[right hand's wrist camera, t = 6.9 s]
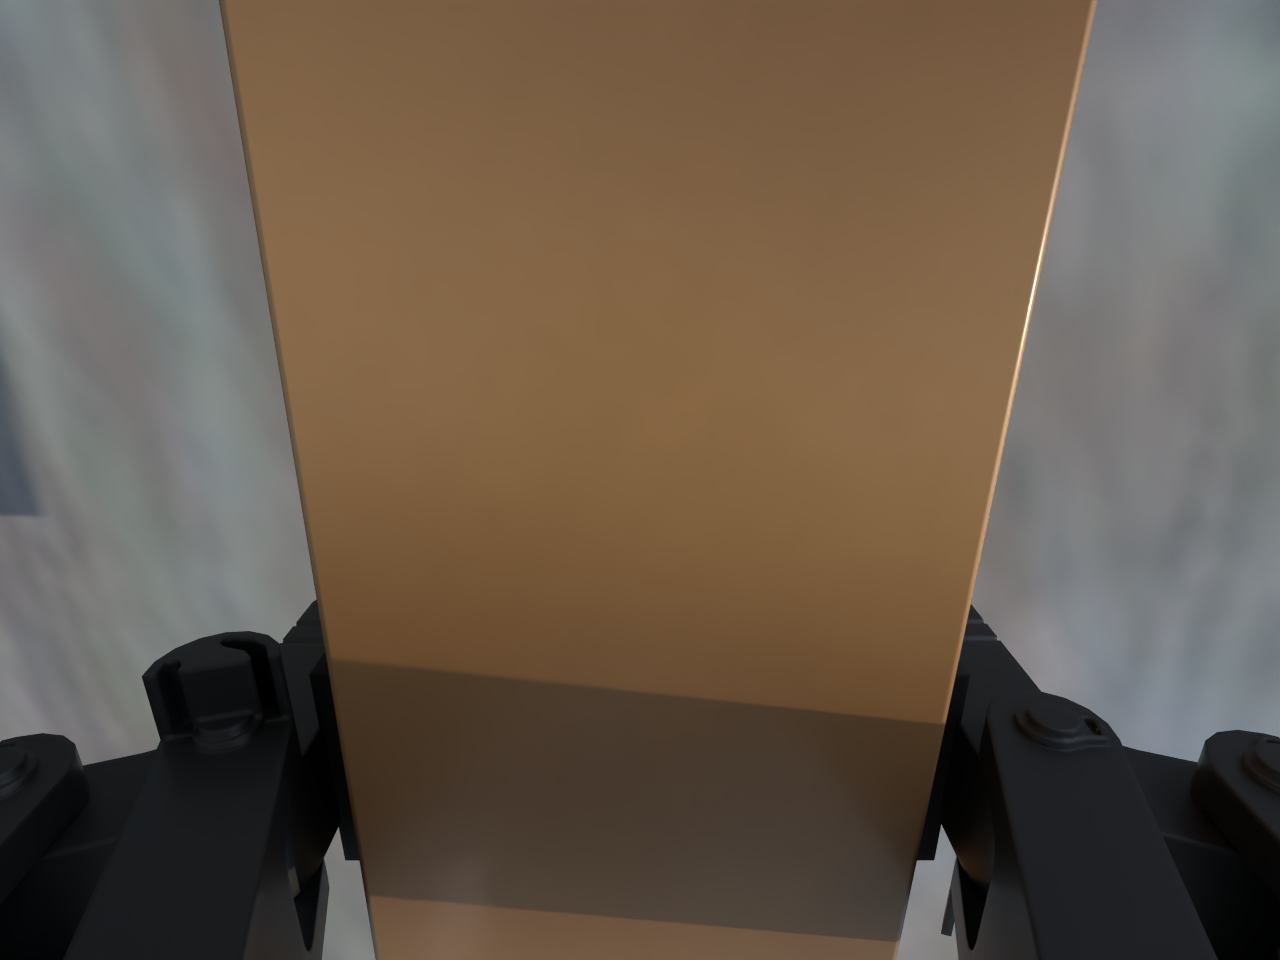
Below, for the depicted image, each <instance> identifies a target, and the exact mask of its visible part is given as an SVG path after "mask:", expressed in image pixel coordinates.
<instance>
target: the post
mask: <svg viewBox="0 0 1280 960" xmlns="http://www.w3.org/2000/svg"><path fill="white" fill-rule="evenodd" d="M219 4H220V10H221V16H222V23H223V29H224V35H225V41H226V47H227V53H228V59H229V65H230V71H231V78H232V84H233V90H234V96H235V102H236V108H237V114H238V120H239V126H240V133H241V139H242V145H243V151H244V157H245V163H246V169H247V175H248V181H249V188H250V194H251V200H252V206H253V212H254V218H255V224H256V230H257V236H258V243H259V249H260V255H261V261H262V267H263V273H264V279H265V285H266V291H267V298H268V304H269V310H270V316H271V322H272V328H273V334H274V340H275V347H276V353H277V359H278V365H279V371H280V377H281V383H282V389H283V395H284V402H285V408H286V414H287V420H288V426H289V432H290V438H291V444H292V450H293V457H294V463H295V469H296V475H297V481H298V487H299V493H300V499H301V505H302V512H303V518H304V524H305V530H306V536H307V542H308V548H309V554H310V560H311V567H312V573H313V579H314V585H315V591H316V597H317V603H318V609H319V615H320V622H321V628H322V634H323V640H324V646H325V652H326V658H327V664H328V670H329V677H330V683H331V689H332V695H333V701H334V707H335V713H336V719H337V726H338V732H339V738H340V744H341V750H342V756H343V762H344V768H345V774H346V781H347V787H348V793H349V799H350V805H351V811H352V817H353V823H354V829H355V836H356V842H357V848H358V854H359V860H360V866H361V872H362V878H363V884H364V891H365V897H366V903H367V909H368V915H369V921H370V927H371V933H372V939H373V946H374V952H375V958H376V960H896V957H897V952H898V947H899V943H900V938H901V933H902V928H903V924H904V919H905V914H906V909H907V904H908V900H909V895H910V890H911V885H912V881H913V876H914V871H915V866H916V862H917V857H918V852H919V847H920V843H921V838H922V833H923V828H924V824H925V819H926V814H927V809H928V805H929V800H930V795H931V790H932V785H933V781H934V776H935V771H936V766H937V762H938V757H939V752H940V747H941V743H942V738H943V733H944V728H945V724H946V719H947V714H948V709H949V705H950V700H951V695H952V690H953V686H954V681H955V676H956V671H957V666H958V662H959V657H960V652H961V647H962V643H963V638H964V633H965V628H966V624H967V619H968V614H969V609H970V605H971V600H972V595H973V590H974V586H975V581H976V576H977V571H978V567H979V562H980V557H981V552H982V548H983V543H984V538H985V533H986V528H987V524H988V519H989V514H990V509H991V505H992V500H993V495H994V490H995V486H996V481H997V476H998V471H999V467H1000V462H1001V457H1002V452H1003V448H1004V443H1005V438H1006V433H1007V429H1008V424H1009V419H1010V414H1011V409H1012V405H1013V400H1014V395H1015V390H1016V386H1017V381H1018V376H1019V371H1020V367H1021V362H1022V357H1023V352H1024V348H1025V343H1026V338H1027V333H1028V329H1029V324H1030V319H1031V314H1032V310H1033V305H1034V300H1035V295H1036V291H1037V286H1038V281H1039V276H1040V271H1041V267H1042V262H1043V257H1044V252H1045V248H1046V243H1047V238H1048V233H1049V229H1050V224H1051V219H1052V214H1053V210H1054V205H1055V200H1056V195H1057V191H1058V186H1059V181H1060V176H1061V172H1062V167H1063V162H1064V157H1065V152H1066V148H1067V143H1068V138H1069V133H1070V129H1071V124H1072V119H1073V114H1074V110H1075V105H1076V100H1077V95H1078V91H1079V86H1080V81H1081V76H1082V72H1083V67H1084V62H1085V57H1086V53H1087V48H1088V43H1089V38H1090V34H1091V29H1092V24H1093V19H1094V14H1095V10H1096V5H1097V0H219Z"/></svg>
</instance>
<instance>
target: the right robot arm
mask: <svg viewBox="0 0 1280 960" xmlns="http://www.w3.org/2000/svg"><path fill="white" fill-rule="evenodd" d="M142 679H143V682H144V686H145V689H146V692H147V696H148V699H149V702H150V706H151V709H152V713H153V716H154V719H155V723H156V726H157V730H158V733H159V736H160V740H161V741H160V743H159V745H158V747H157V749H156V750H152V751H149V752H145V753H141V754H136V755H131V756H127V757H122V758H117V759H112V760H108V761H103V762H98V763H93V764H89V765H84V766H83V765H82V763H81V760H80V757H79V754H78V751H77V748H76V745H75V744H74V743H73V742H71V741H70V740H69V739H67V738H66V737H65V736H62V735H54V734H45V733H41V734H34V735H27V736H20V737H14V738H10V739H6V740H2V741H1V742H0V960H322V951H323V942H324V932H325V923H326V914H327V905H328V895H329V883H328V876H327V871H326V866H325V861H324V856H325V854H326V852H327V850H328V848H329V846H330V844H331V841H332V839H333V837H334V835H335V833H336V831H337V829H338V827H339V830H340V835H341V840H342V845H343V850H344V855H345V860H359V854H358V848H357V842H356V836H355V829H354V823H353V817H352V811H351V805H350V799H349V793H348V787H347V781H346V774H345V768H344V762H343V756H342V750H341V744H340V738H339V732H338V726H337V719H336V713H335V707H334V701H333V695H332V689H331V683H330V677H329V670H328V664H327V658H326V652H325V646H324V640H323V634H322V628H321V622H320V615H319V609H318V603H317V600H315V601H314V602H312V604H311V605H310V606H309V607H308V609H307V610H306V611H305V612H304V614H303V615H302V616H301V617H300V619H299V620H298V621H297V625H296V626H293V627H292V629H291V630H290V631H289V632H288V634H287V635H286V636H285V637H284V639H283V643H280V644H279V643H278V642H277V641H275V640H274V639H273V638H271V637H270V636H269V635H266V634H261V633H256V632H251V631H244V632H226V633H221V634H217V635H213V636H208V637H204V638H200V639H197V640H195V641H192V642H190V643H188V644H185V645H183V646H180V647H178V648H175V649H174V650H172V651H171V652H169V653H168V654H166V655H164V656H163V657H161V658H160V659H158V660H157V661H155V662H154V663H153V664H152V665H151V667H150V668H149V669H148V670H147V671H146V672H145V673H144V675H143V676H142ZM941 824H942V826H943V828H944V830H945V832H946V834H947V836H948V839H949V841H950V843H951V845H952V847H953V849H954V851H955V853H956V855H957V856H956V861H955V866H954V871H953V875H952V880H951V885H950V890H949V894H948V899H947V904H946V909H945V913H944V918H943V925H942V931H941V934H944V935H948V936H951V934H952V930H953V925H954V921H955V930H956V940H957V949H958V958H959V960H1280V738H1279V737H1276V736H1272V735H1268V734H1263V733H1256V732H1249V731H1242V730H1233V731H1224V732H1217V733H1215V734H1214V735H1213V736H1211V737H1210V738H1209V739H1207V740H1206V741H1205V744H1204V746H1203V749H1202V752H1201V755H1200V758H1199V761H1198V763H1197V762H1193V761H1188V760H1183V759H1178V758H1173V757H1169V756H1164V755H1159V754H1154V753H1150V752H1145V751H1140V750H1136V749H1132V748H1128V747H1125V746H1122V744H1121V741H1120V739H1119V738H1118V737H1117V735H1116V734H1115V733H1114V731H1113V730H1112V729H1111V727H1110V726H1109V724H1108V723H1106V722H1105V721H1104V720H1102V719H1101V718H1100V717H1098V716H1097V715H1096V714H1094V713H1093V712H1092V711H1090V710H1089V709H1087V708H1085V707H1083V706H1081V705H1079V704H1077V703H1075V702H1072V701H1070V700H1068V699H1066V698H1063V697H1059V696H1056V695H1052V694H1048V693H1044V692H1041V691H1040V690H1039V688H1038V687H1037V686H1036V685H1035V683H1034V682H1033V681H1032V680H1031V678H1030V677H1029V676H1028V675H1027V673H1026V672H1025V671H1024V670H1023V668H1022V667H1021V666H1020V665H1019V663H1018V662H1017V661H1016V660H1015V658H1014V657H1013V656H1012V655H1011V653H1010V652H1009V651H1008V650H1007V648H1006V647H1005V646H1004V645H1003V643H1002V642H1001V641H997V636H996V635H995V633H994V632H993V631H992V630H991V629H990V627H989V626H988V625H987V624H984V622H983V619H982V617H981V616H980V615H979V614H978V612H977V611H976V610H975V609H974V607H973V606H972V605H970V609H969V614H968V619H967V624H966V628H965V633H964V638H963V643H962V647H961V652H960V657H959V662H958V666H957V671H956V676H955V681H954V686H953V690H952V695H951V700H950V705H949V709H948V714H947V719H946V724H945V728H944V733H943V738H942V743H941V747H940V752H939V757H938V762H937V766H936V771H935V776H934V781H933V785H932V790H931V795H930V800H929V805H928V809H927V814H926V819H925V824H924V828H923V833H922V838H921V843H920V847H919V852H918V857H917V860H934V858H935V853H936V848H937V843H938V838H939V833H940V827H941Z"/></svg>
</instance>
